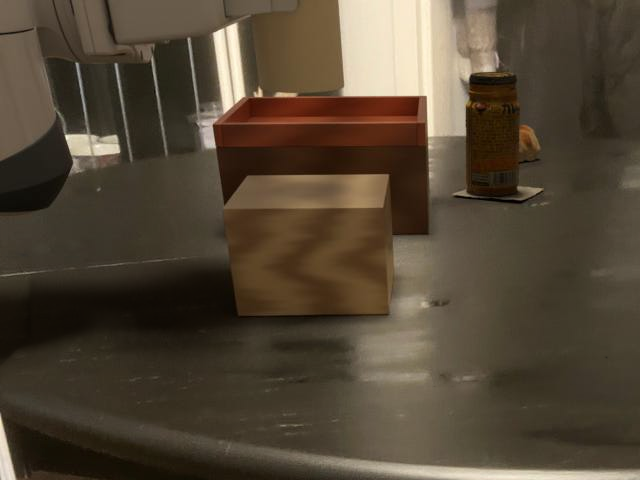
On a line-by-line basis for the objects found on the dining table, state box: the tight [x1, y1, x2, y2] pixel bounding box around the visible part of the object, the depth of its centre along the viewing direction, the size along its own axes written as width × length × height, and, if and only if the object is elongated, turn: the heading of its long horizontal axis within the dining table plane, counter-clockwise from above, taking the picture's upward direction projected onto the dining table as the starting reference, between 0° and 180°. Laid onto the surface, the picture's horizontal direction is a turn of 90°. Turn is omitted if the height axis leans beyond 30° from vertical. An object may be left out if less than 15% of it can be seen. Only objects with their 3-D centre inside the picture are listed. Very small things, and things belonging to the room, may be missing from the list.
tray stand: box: [212, 95, 431, 235], centre depth 102 cm, size 20×18×10 cm
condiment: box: [452, 71, 544, 201], centre depth 109 cm, size 7×8×12 cm
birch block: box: [221, 174, 395, 317], centre depth 80 cm, size 12×12×8 cm
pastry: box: [519, 124, 541, 163], centre depth 127 cm, size 9×7×4 cm
